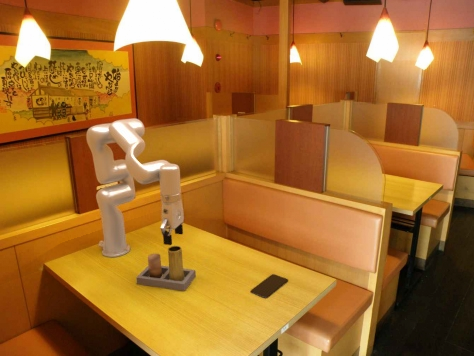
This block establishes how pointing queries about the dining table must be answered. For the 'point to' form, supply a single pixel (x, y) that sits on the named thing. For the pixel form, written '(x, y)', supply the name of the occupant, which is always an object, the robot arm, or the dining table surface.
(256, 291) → the smartphone
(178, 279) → the vase
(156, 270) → the walnut peg
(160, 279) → the slot rack
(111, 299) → the dining table surface
